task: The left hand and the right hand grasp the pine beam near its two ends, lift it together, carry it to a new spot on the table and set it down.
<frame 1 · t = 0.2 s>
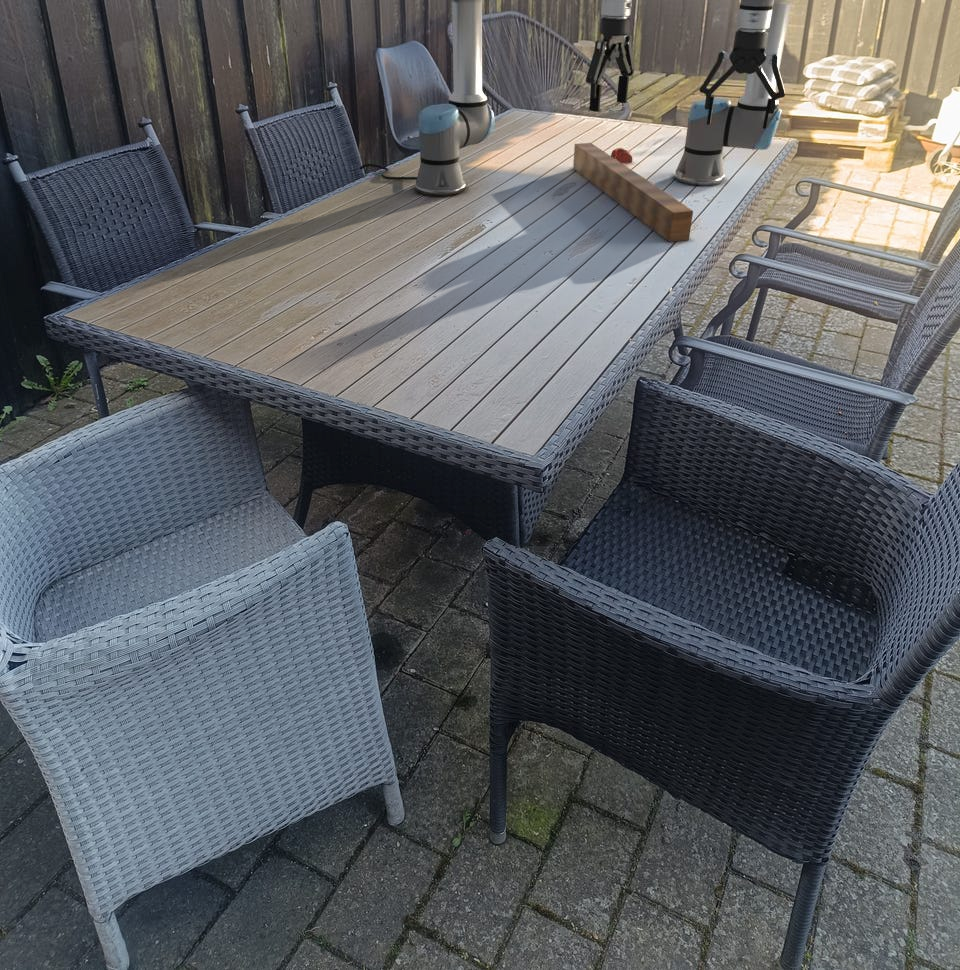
left hand: (608, 106, 226), 28 cm above the table, tool pointing down, fingers open, 13 cm apart
right hand: (736, 125, 210), 27 cm above the table, tool pointing down, fingers open, 13 cm apart
beam: (624, 200, 250), on the table
red rounded lump: (621, 161, 284), on the table
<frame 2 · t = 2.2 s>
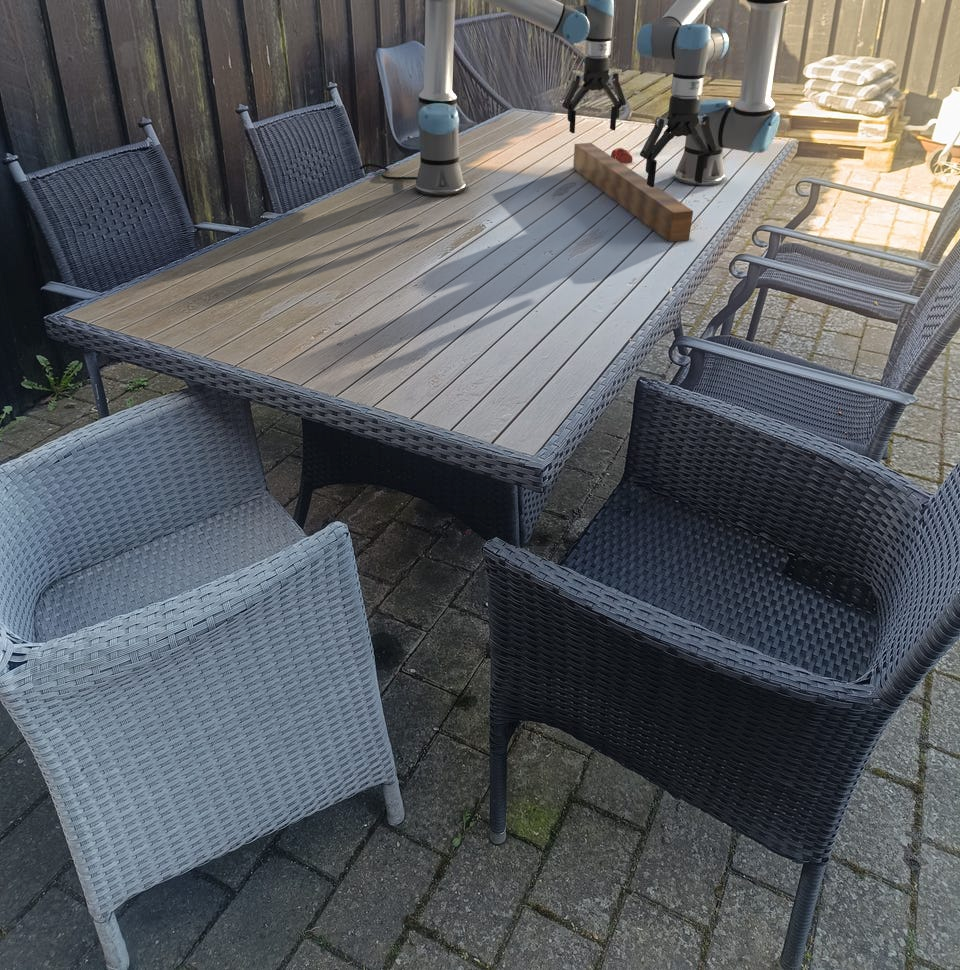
left hand: (592, 131, 265), 13 cm above the table, tool pointing down, fingers open, 13 cm apart
right hand: (674, 183, 219), 13 cm above the table, tool pointing down, fingers open, 13 cm apart
nothing on the table moved.
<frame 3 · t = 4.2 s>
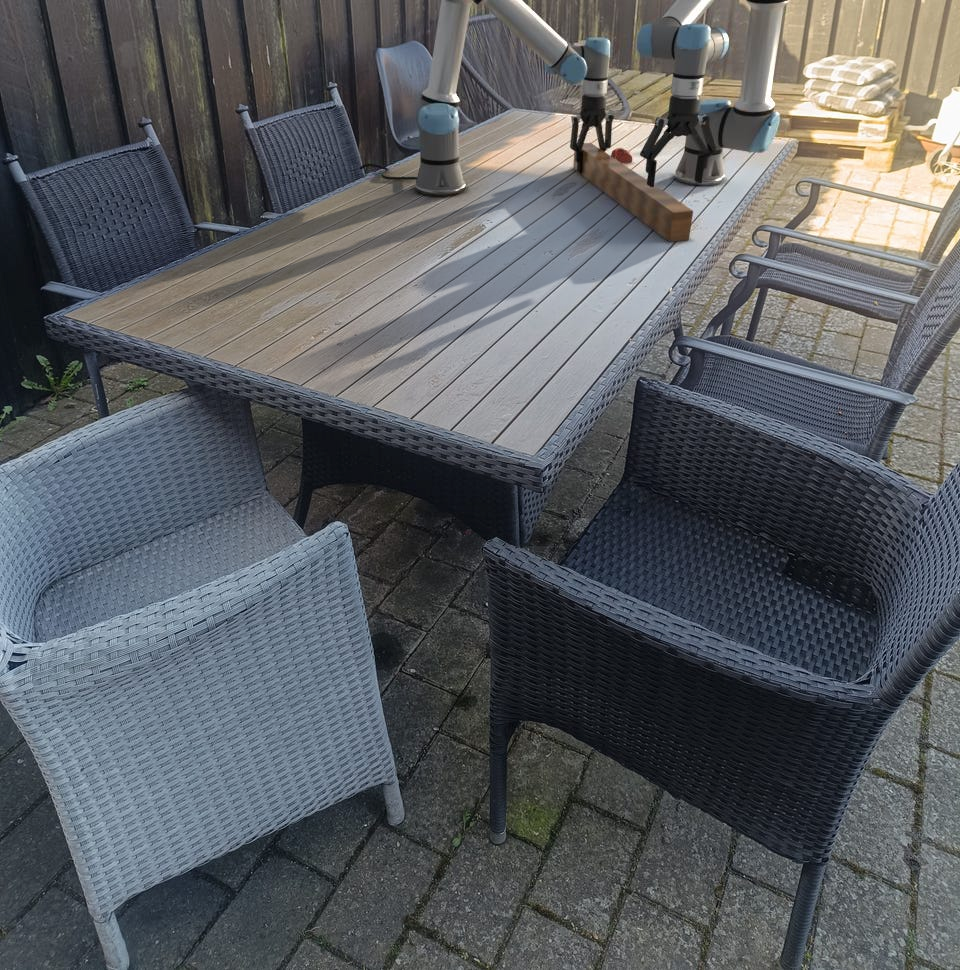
left hand: (588, 171, 273), 1 cm above the table, tool pointing down, fingers closed on beam, 6 cm apart
right hand: (674, 183, 219), 13 cm above the table, tool pointing down, fingers open, 13 cm apart
beam: (624, 200, 250), on the table, touching left hand
everything else where it was.
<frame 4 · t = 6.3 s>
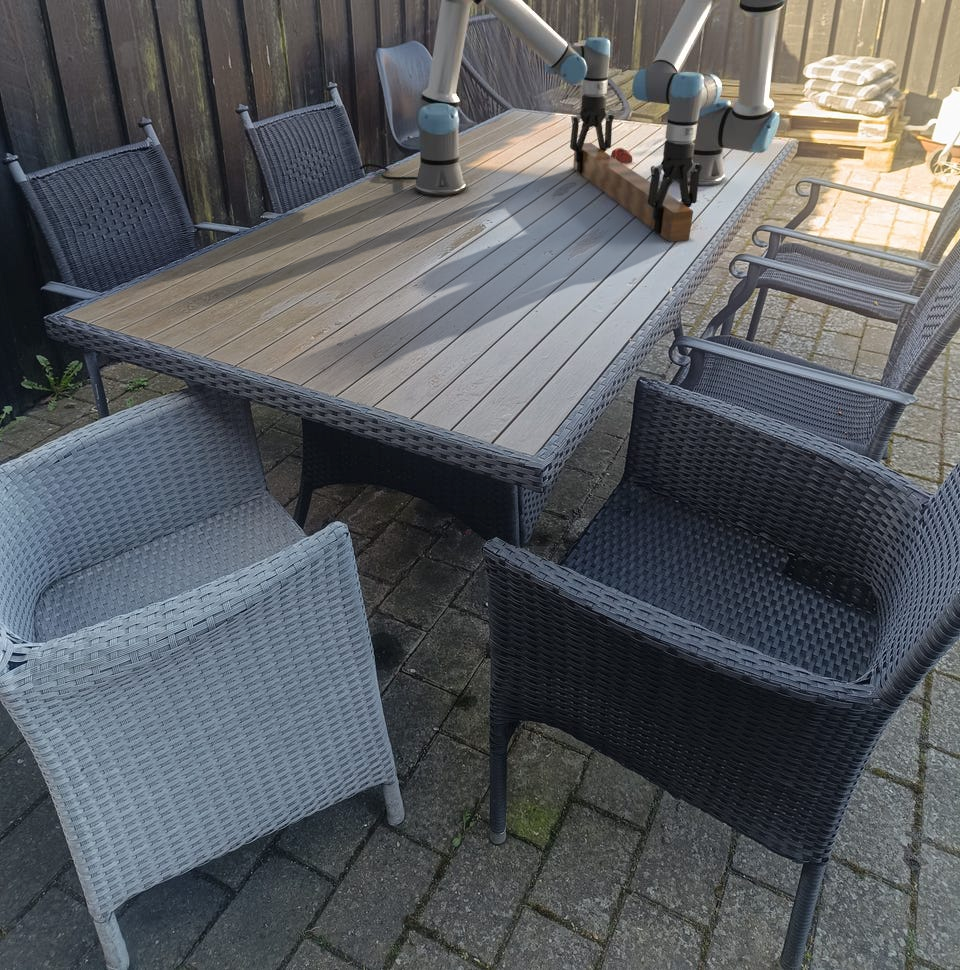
left hand: (588, 171, 273), 1 cm above the table, tool pointing down, fingers closed on beam, 6 cm apart
right hand: (668, 230, 227), 1 cm above the table, tool pointing down, fingers closed on beam, 6 cm apart
beam: (624, 200, 250), on the table, touching left hand, right hand
everything else where it was.
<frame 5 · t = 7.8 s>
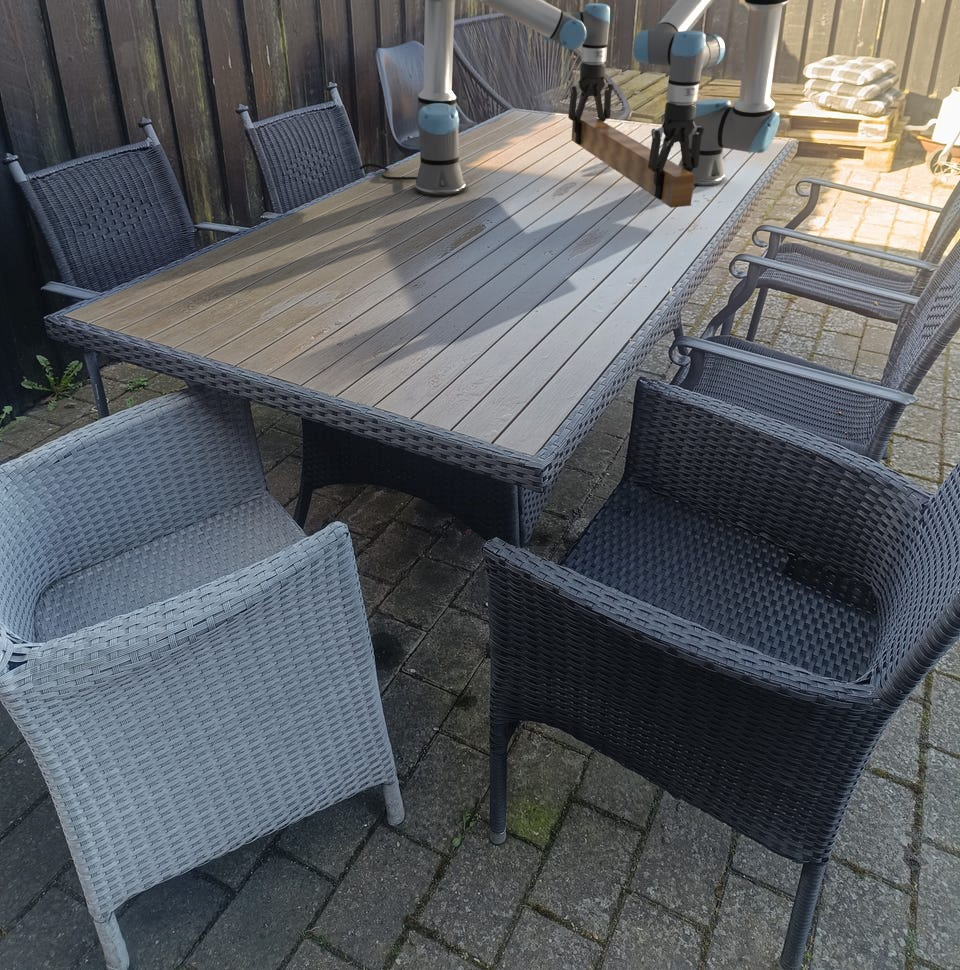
left hand: (587, 142, 268), 9 cm above the table, tool pointing down, fingers closed on beam, 6 cm apart
right hand: (669, 196, 222), 10 cm above the table, tool pointing down, fingers closed on beam, 6 cm apart
beam: (624, 169, 245), point 9 cm above the table, touching left hand, right hand
everything else where it was.
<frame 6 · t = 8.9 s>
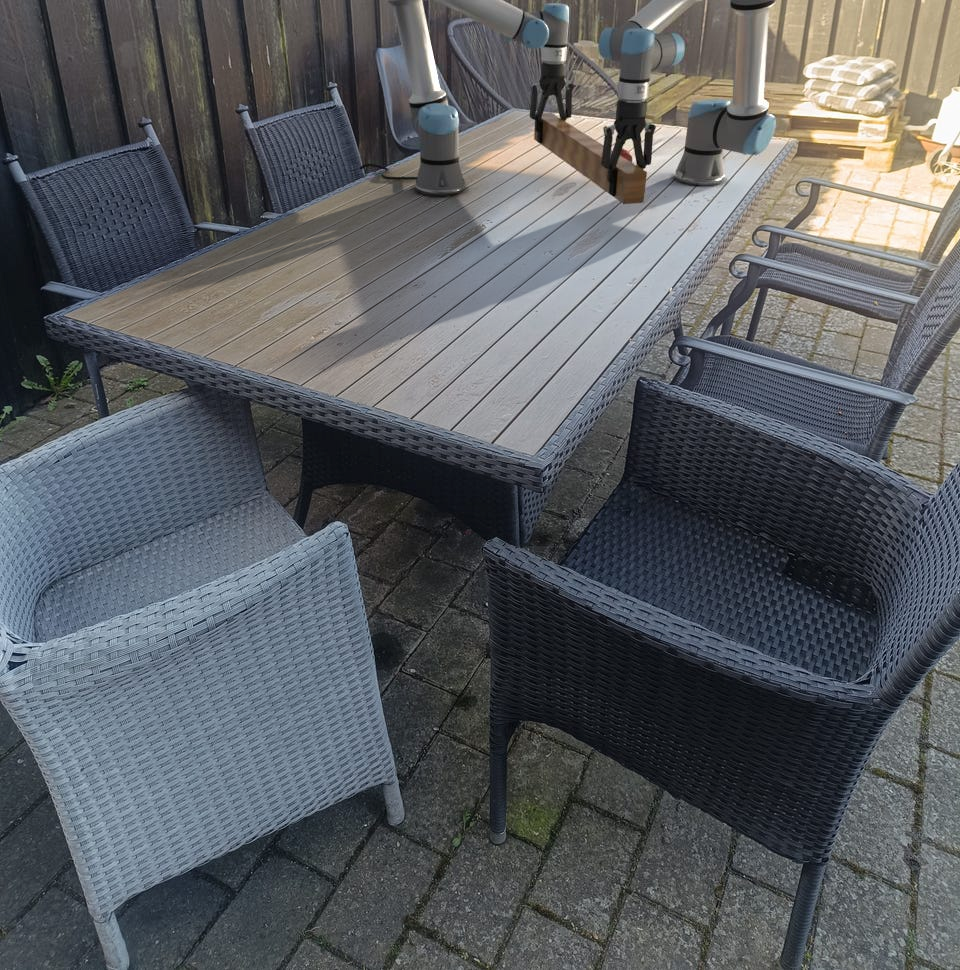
left hand: (549, 141, 269), 9 cm above the table, tool pointing down, fingers closed on beam, 6 cm apart
right hand: (623, 193, 223), 10 cm above the table, tool pointing down, fingers closed on beam, 6 cm apart
beam: (582, 167, 247), point 9 cm above the table, touching left hand, right hand
everything else where it was.
when the left hand's fingers open (2 cm above the table, at t = 11.6 s): beam drops 1 cm, on the table.
when the right hand's fingers open (2 cm above the table, at t = 11.6 s): beam drops 1 cm, on the table.
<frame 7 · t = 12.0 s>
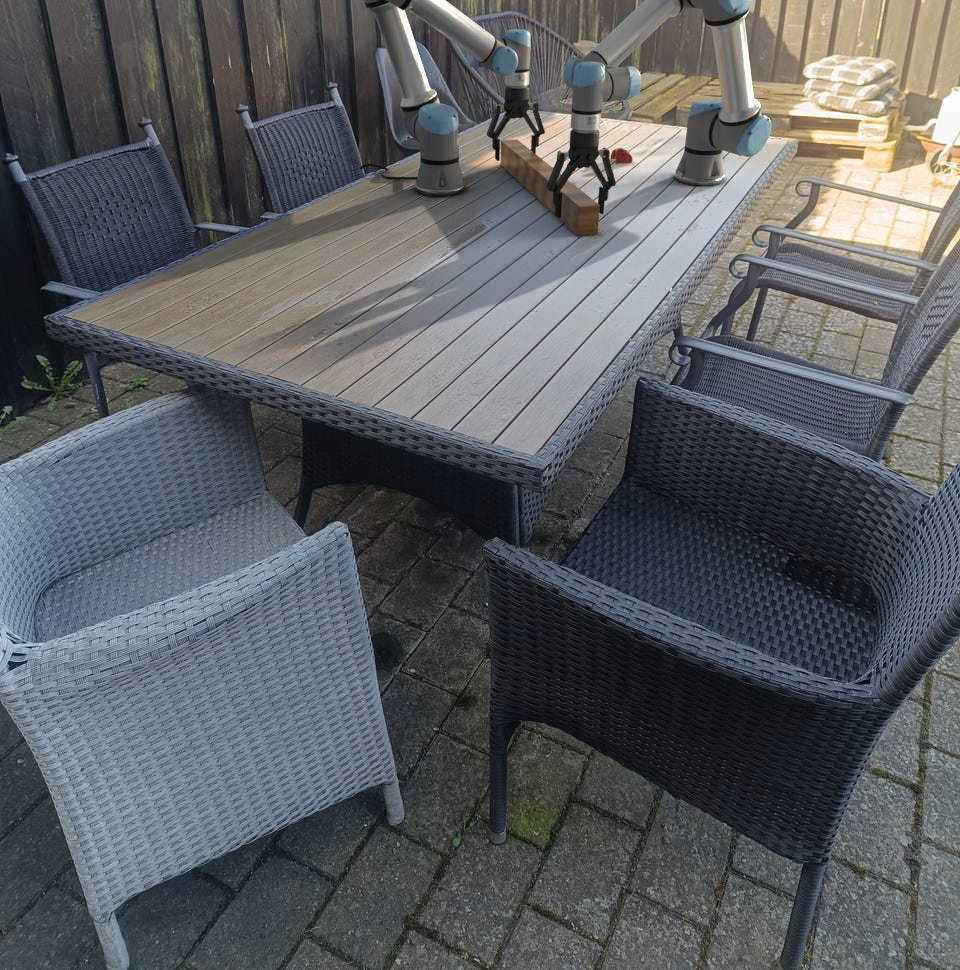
left hand: (515, 158, 275), 3 cm above the table, tool pointing down, fingers open, 11 cm apart
right hand: (579, 214, 228), 3 cm above the table, tool pointing down, fingers open, 11 cm apart
beam: (543, 195, 254), on the table
everything else where it was.
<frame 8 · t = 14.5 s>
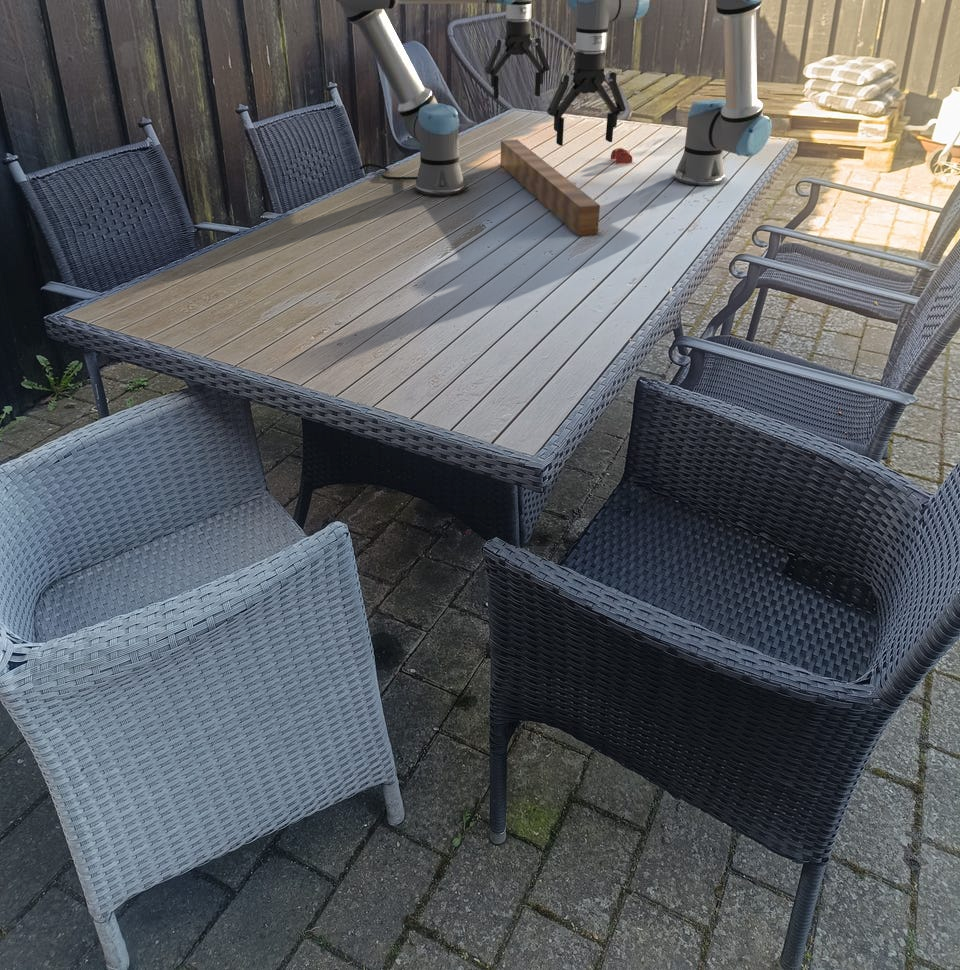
left hand: (516, 97, 264), 22 cm above the table, tool pointing down, fingers open, 13 cm apart
right hand: (584, 142, 218), 22 cm above the table, tool pointing down, fingers open, 13 cm apart
nothing on the table moved.
at the end: beam inside the target area (0.1 cm from its centre), on the table; beam tilted 0°; beam never tilted more than 1° during the clip; both hands held the beam at the same time; the left hand is holding nothing; the right hand is holding nothing; beam at rest at the end (0.0 cm/s) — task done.
